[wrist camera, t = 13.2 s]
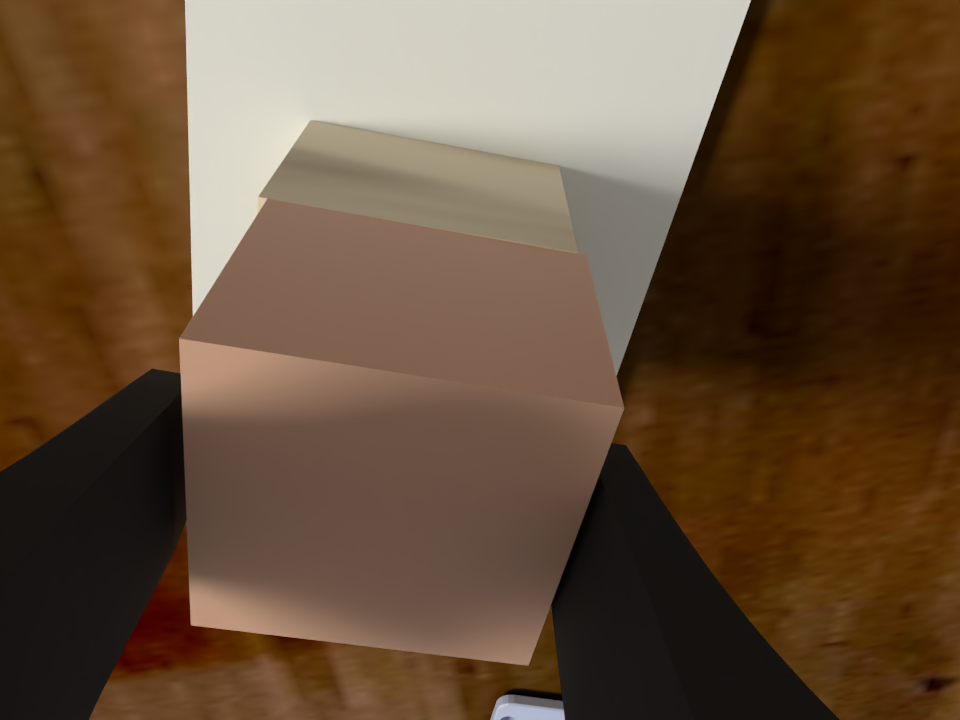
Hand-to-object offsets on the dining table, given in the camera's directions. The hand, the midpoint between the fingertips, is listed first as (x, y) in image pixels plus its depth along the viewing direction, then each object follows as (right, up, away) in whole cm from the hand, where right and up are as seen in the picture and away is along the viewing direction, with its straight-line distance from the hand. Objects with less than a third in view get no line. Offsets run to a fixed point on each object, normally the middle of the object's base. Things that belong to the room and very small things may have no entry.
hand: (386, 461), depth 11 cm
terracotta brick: (0, +2, +2) cm, 3 cm away
